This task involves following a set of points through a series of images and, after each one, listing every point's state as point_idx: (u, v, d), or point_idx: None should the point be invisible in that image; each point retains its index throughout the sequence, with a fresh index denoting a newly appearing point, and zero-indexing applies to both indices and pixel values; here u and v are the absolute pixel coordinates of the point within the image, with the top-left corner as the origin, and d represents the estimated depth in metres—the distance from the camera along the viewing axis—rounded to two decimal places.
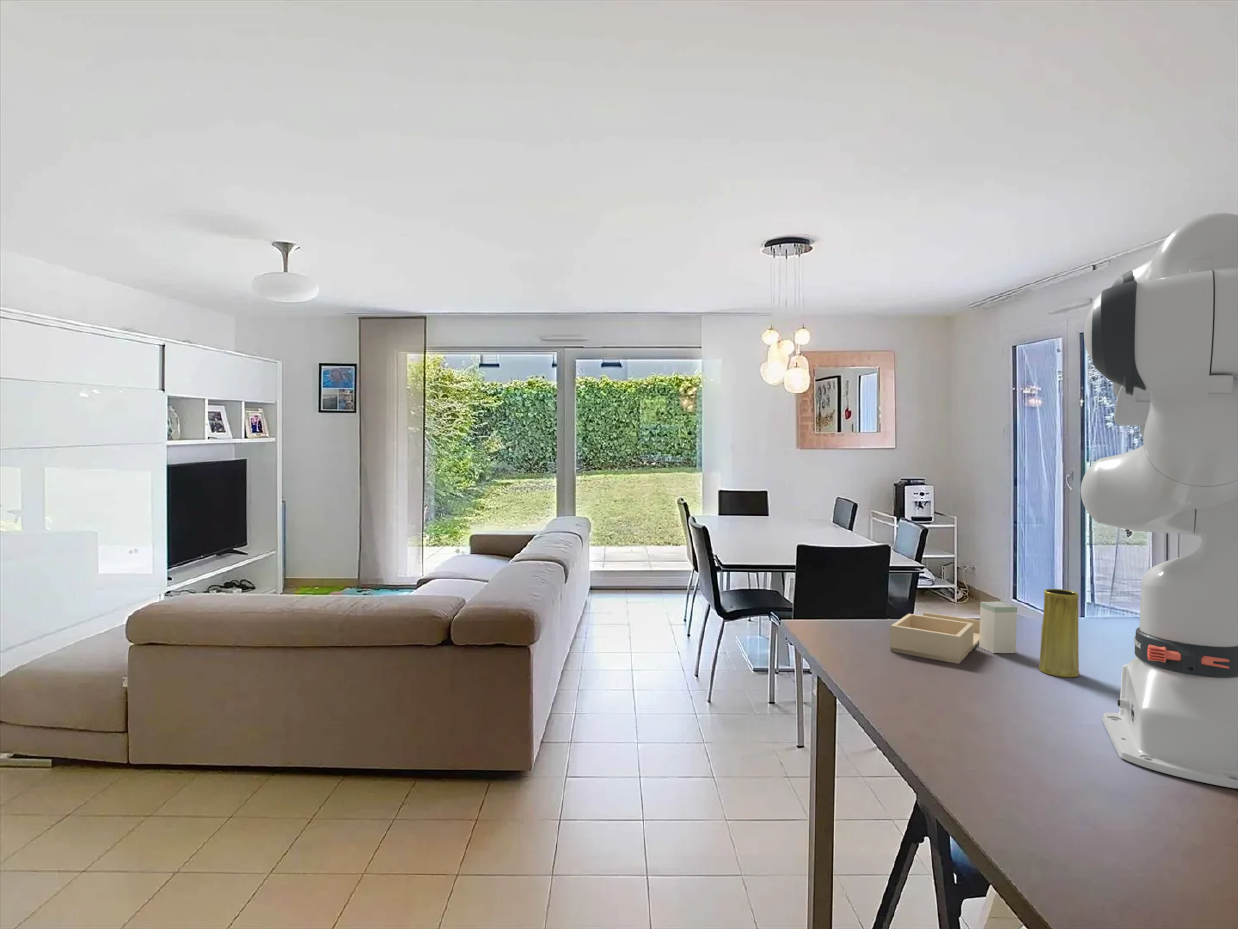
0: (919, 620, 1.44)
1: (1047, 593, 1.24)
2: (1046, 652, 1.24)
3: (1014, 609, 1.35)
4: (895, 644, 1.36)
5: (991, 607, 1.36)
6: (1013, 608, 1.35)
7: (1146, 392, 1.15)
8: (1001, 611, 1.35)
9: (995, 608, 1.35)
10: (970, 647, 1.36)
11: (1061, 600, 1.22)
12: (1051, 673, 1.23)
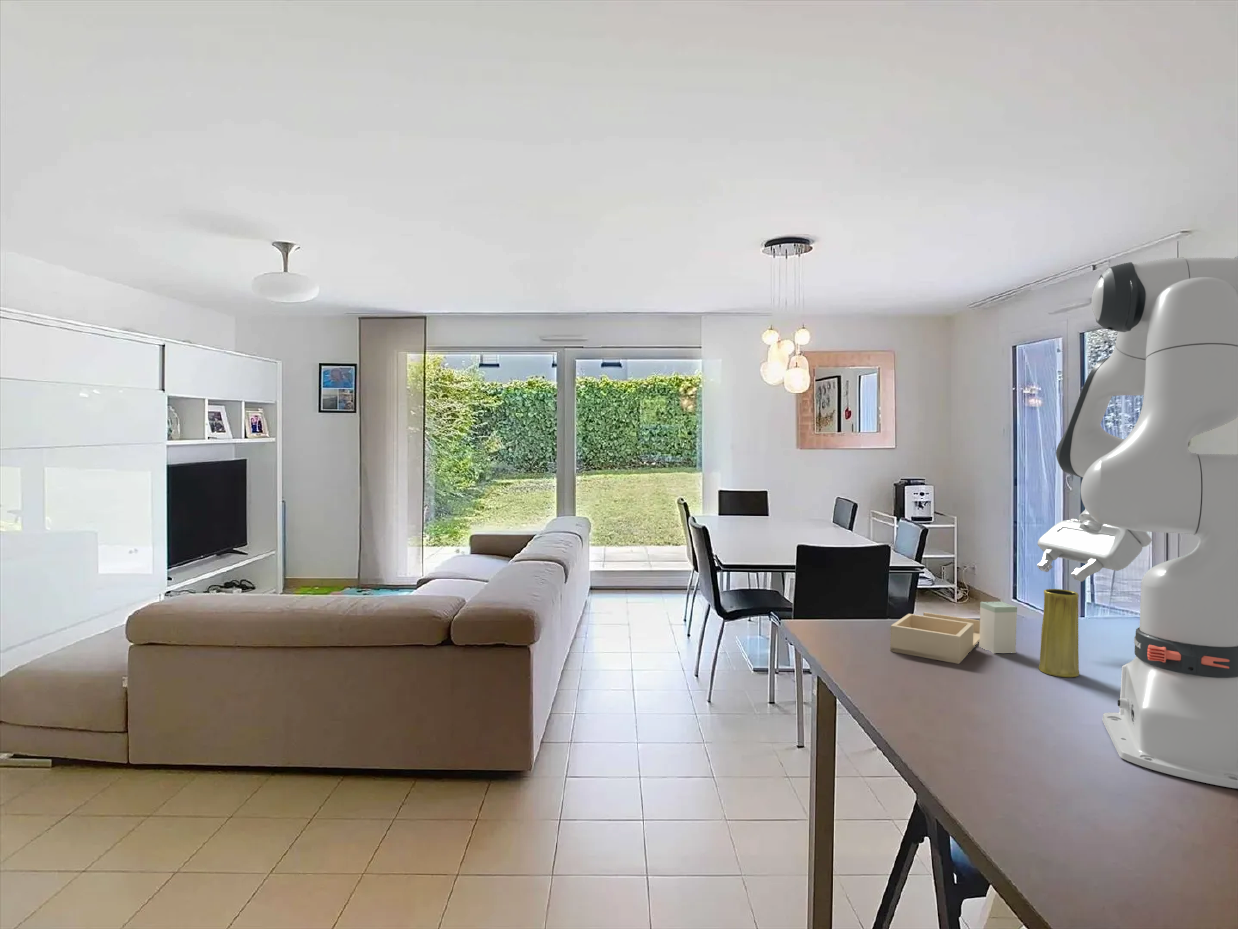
0: (919, 620, 1.44)
1: (1047, 593, 1.24)
2: (1046, 652, 1.24)
3: (1014, 609, 1.35)
4: (895, 644, 1.36)
5: (991, 607, 1.36)
6: (1013, 608, 1.35)
7: (1066, 527, 1.44)
8: (1001, 611, 1.35)
9: (995, 608, 1.35)
10: (970, 647, 1.36)
11: (1061, 600, 1.22)
12: (1051, 673, 1.23)
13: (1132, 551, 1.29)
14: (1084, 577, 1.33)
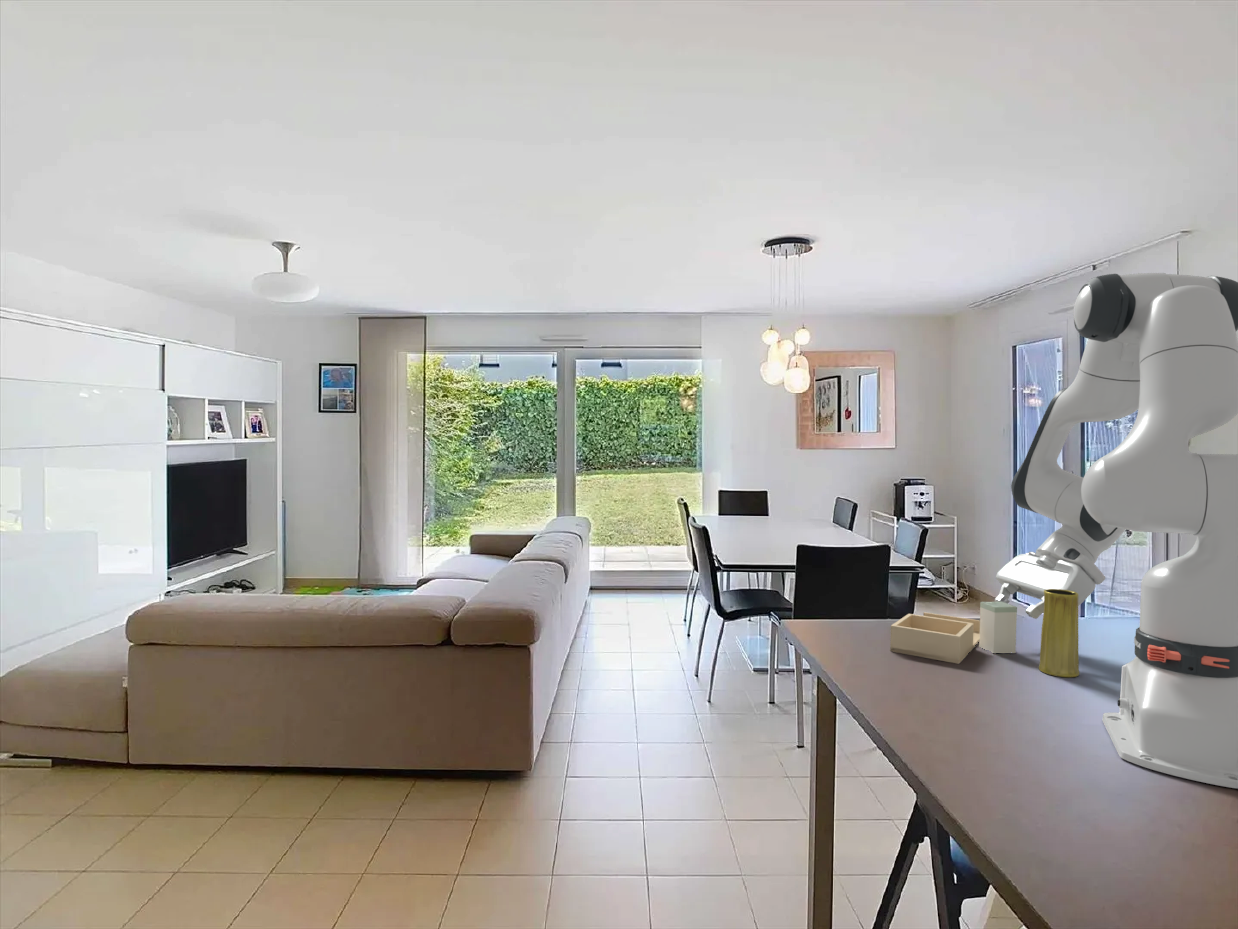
0: (919, 620, 1.44)
1: (1047, 593, 1.24)
2: (1046, 652, 1.24)
3: (1014, 609, 1.35)
4: (895, 644, 1.36)
5: (991, 607, 1.36)
6: (1013, 608, 1.35)
7: (1024, 561, 1.44)
8: (1001, 611, 1.35)
9: (995, 608, 1.35)
10: (970, 647, 1.36)
11: (1061, 600, 1.22)
12: (1051, 673, 1.23)
13: (1085, 589, 1.28)
14: (1038, 614, 1.32)
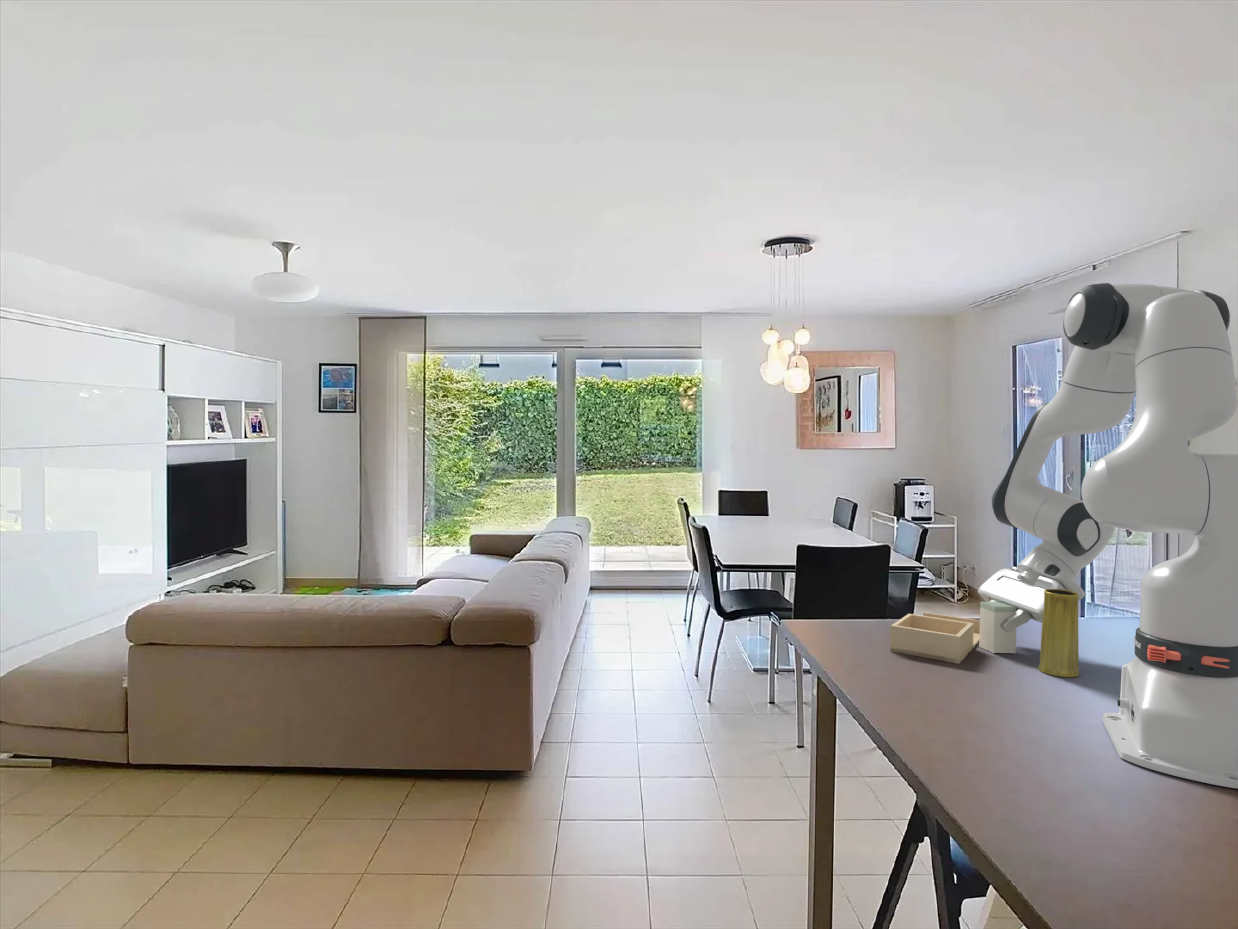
0: (919, 620, 1.44)
1: (1047, 593, 1.24)
2: (1046, 652, 1.24)
3: (1014, 609, 1.35)
4: (895, 644, 1.36)
5: (991, 607, 1.36)
6: (1013, 608, 1.35)
7: (1005, 576, 1.43)
8: (1001, 611, 1.35)
9: (995, 608, 1.35)
10: (970, 647, 1.36)
11: (1061, 600, 1.22)
12: (1051, 673, 1.23)
13: None
14: (1012, 628, 1.34)
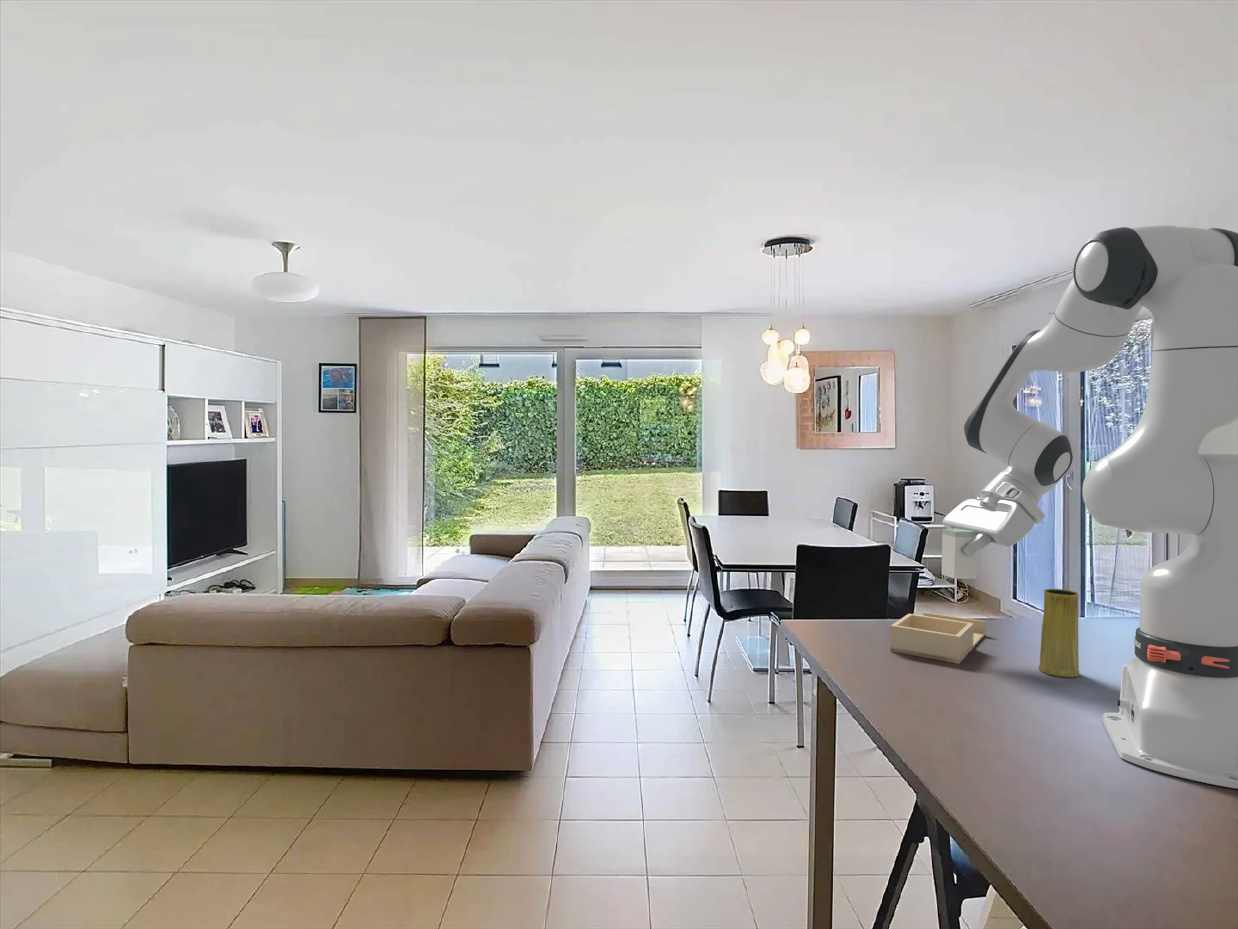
0: (919, 620, 1.44)
1: (1047, 593, 1.24)
2: (1046, 652, 1.24)
3: (975, 534, 1.35)
4: (895, 644, 1.36)
5: (952, 532, 1.35)
6: (974, 533, 1.35)
7: (969, 505, 1.43)
8: (962, 535, 1.34)
9: (956, 532, 1.34)
10: (970, 647, 1.36)
11: (1061, 600, 1.22)
12: (1051, 673, 1.23)
13: (1023, 526, 1.28)
14: (972, 552, 1.33)
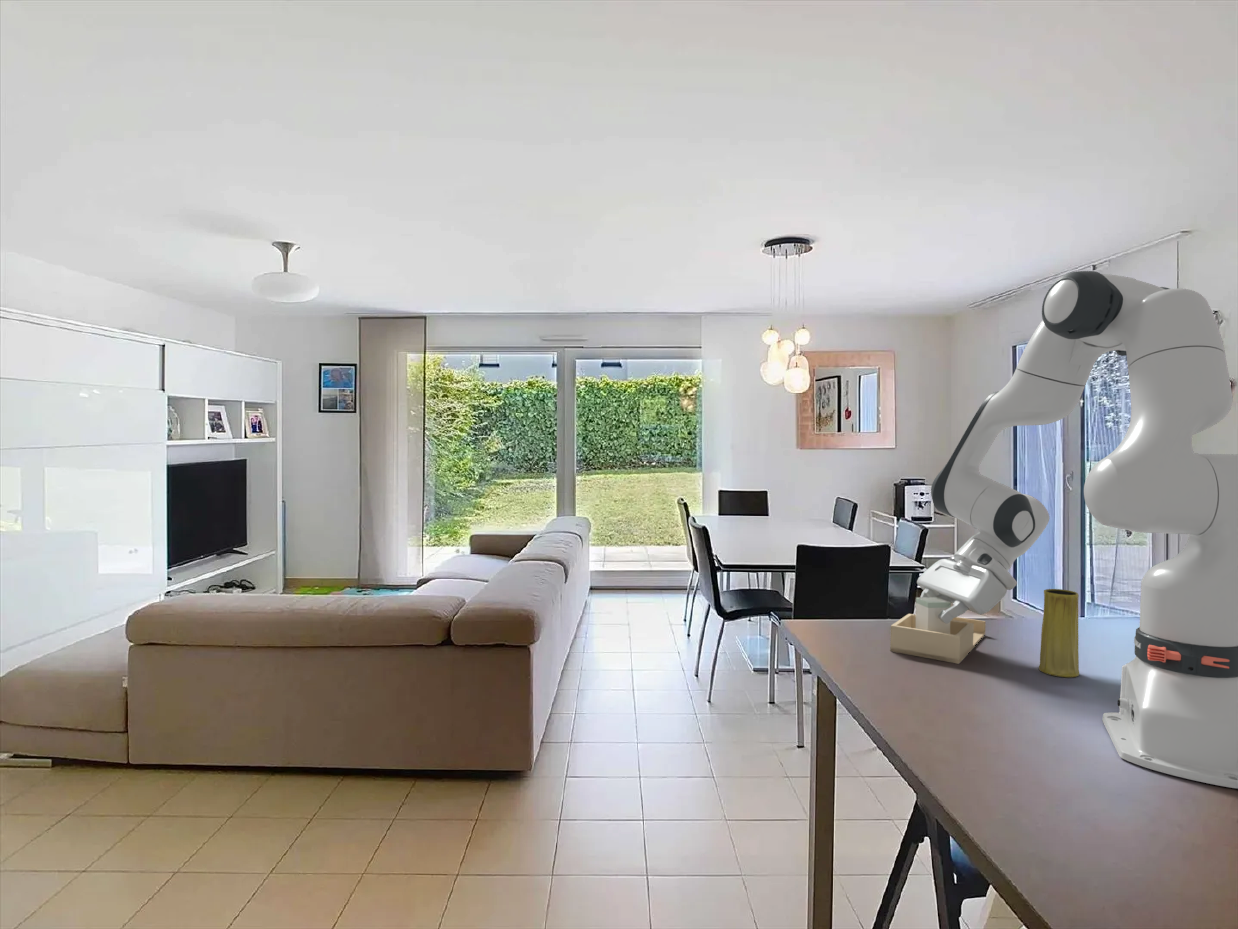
0: None
1: (1047, 593, 1.24)
2: (1046, 652, 1.24)
3: (948, 604, 1.35)
4: (895, 644, 1.36)
5: (925, 602, 1.35)
6: (947, 604, 1.35)
7: (943, 566, 1.43)
8: (935, 606, 1.35)
9: (929, 603, 1.35)
10: (970, 647, 1.36)
11: (1061, 600, 1.22)
12: (1051, 673, 1.23)
13: (995, 594, 1.28)
14: (949, 619, 1.32)
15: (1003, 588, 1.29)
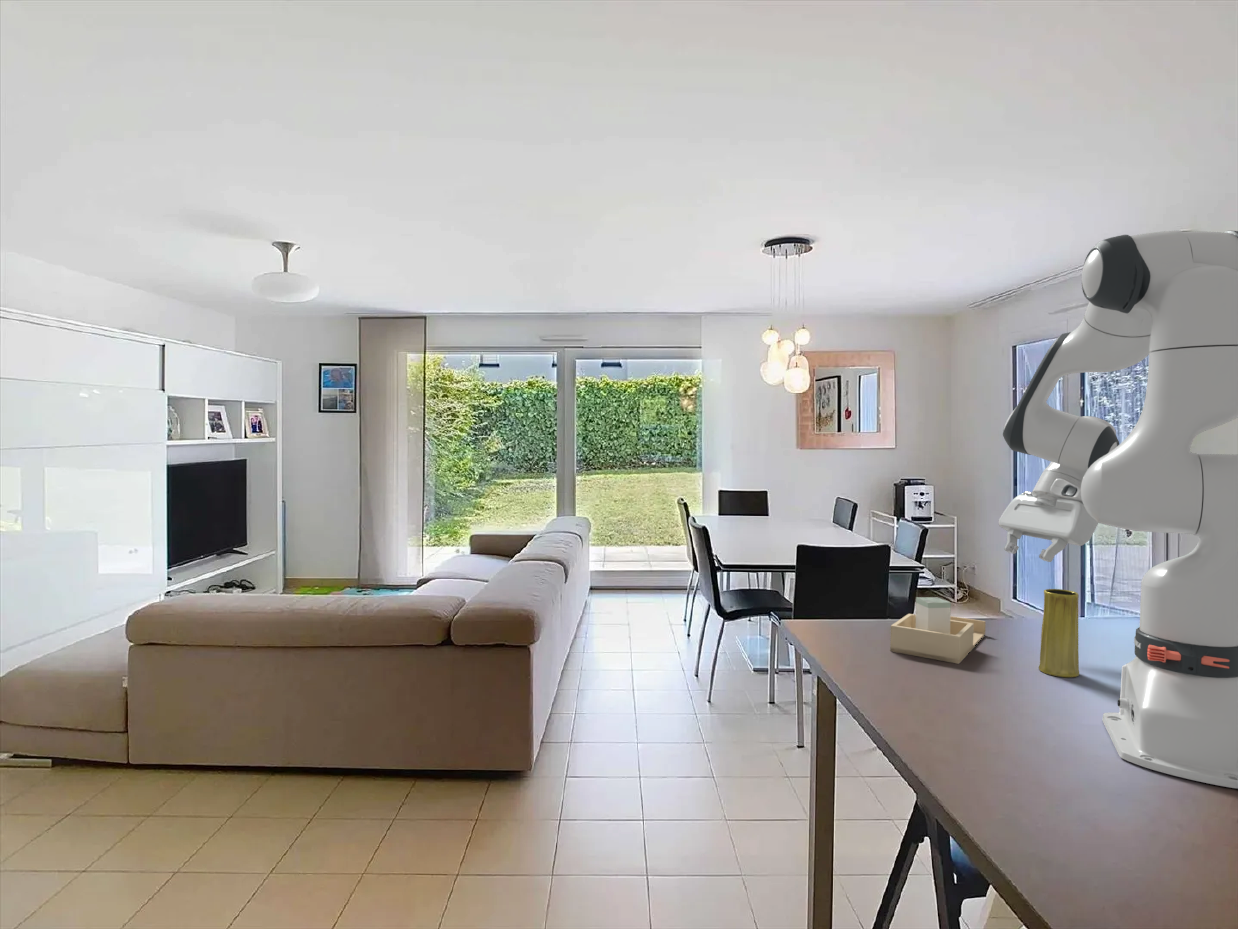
0: None
1: (1047, 593, 1.24)
2: (1046, 652, 1.24)
3: (948, 604, 1.35)
4: (895, 644, 1.36)
5: (925, 602, 1.35)
6: (947, 604, 1.35)
7: (1022, 504, 1.44)
8: (935, 606, 1.35)
9: (929, 603, 1.34)
10: (970, 647, 1.36)
11: (1061, 600, 1.22)
12: (1051, 673, 1.23)
13: (1091, 523, 1.30)
14: (1052, 557, 1.33)
15: None
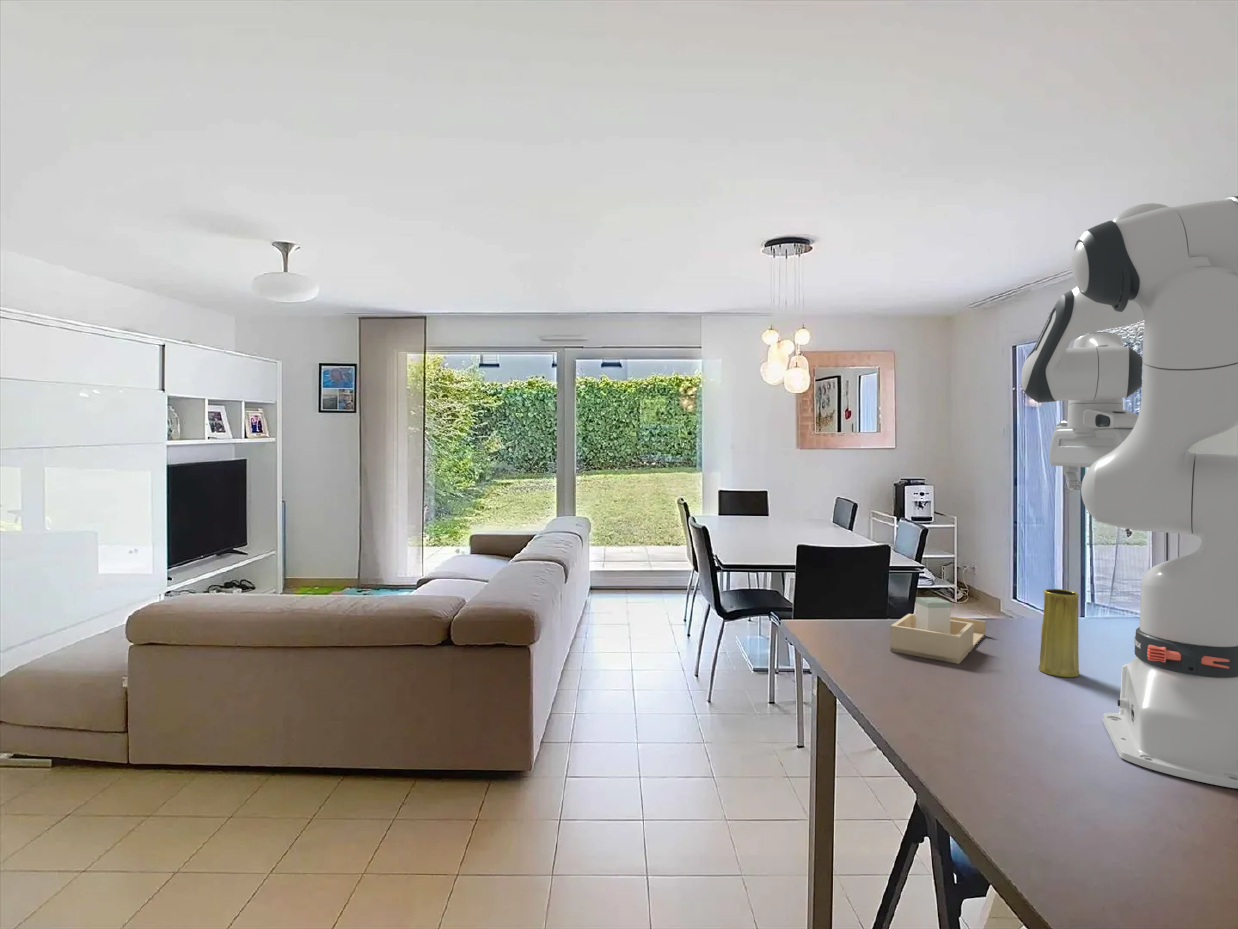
0: None
1: (1047, 593, 1.24)
2: (1046, 652, 1.24)
3: (948, 604, 1.35)
4: (895, 644, 1.36)
5: (925, 602, 1.35)
6: (947, 604, 1.35)
7: (1064, 438, 1.41)
8: (935, 606, 1.35)
9: (929, 603, 1.34)
10: (970, 647, 1.36)
11: (1061, 600, 1.22)
12: (1051, 673, 1.23)
13: None
14: None
15: None
